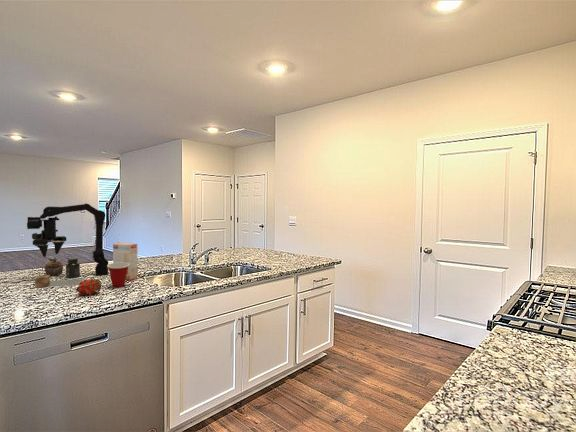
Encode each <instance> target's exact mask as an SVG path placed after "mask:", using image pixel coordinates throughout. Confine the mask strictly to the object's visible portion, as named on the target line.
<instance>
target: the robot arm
mask: <svg viewBox="0 0 576 432" xmlns="http://www.w3.org/2000/svg"><path fill="white" fill-rule="evenodd" d="M80 211H86V212H87V213H90V214H91V215H93V220H94V224H95V242H94V244H95V245H94V246H95V247H94V249H93V250H91V254H92V255H91V258H92V259H93V261H94V262H95V263H96V264H95V268H94V269H95V276H107V275H109V274H110V272H109V269H108V267H107V265H108V264H109V260H108V259H106V258H105V253H104V248H103V244H104V243H103V239H104V237H103V236H104V233H103V232H104V230H103V229H104V222H105V219H106V213H105V211H103V210H100V209H97V208H95V207H94V206H92V205H91V204H90V203H80V204H74V205H65V206H46V207H44V208H43V211H42V214H40V216H27V223H26V227H27V228H26V229H27V230H39V229H40V228H42V227H43V230H41V233H37V232H35V233H32V234H31V239H32V245H34V247H37V248H39V250H40V253H41V255H42V257H43V258H46V256H47V252H48V249H49V248H48V247H49V244H48V243H51V244H53V245H54V253H55V254H56V255H58V254H59V252H60V251H61V248H62V246H63V245H64V244H65V242H67V236H64V235H57V233H58V232H59V229H57V223H56V222H57V221H60V218H59V217H57V216H58V215H61V214H65V213H66V214H67V213H73V212H80ZM46 218H47V219H46Z"/></svg>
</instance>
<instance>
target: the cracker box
mask: <svg viewBox="0 0 576 432" xmlns="http://www.w3.org/2000/svg"><path fill="white" fill-rule="evenodd" d="M112 246H113V247H112V249H113V251H112V253H113V255H112V257H113V258H112V259H113V260H112V261H113V262H112V263H118V262H124V263H129V266H128V270H127V275H126V280H127V281H132V280H136V279H138V244H137V243H130V242H129V243H128V242H114V243H113V245H112ZM126 280H125V281H126Z"/></svg>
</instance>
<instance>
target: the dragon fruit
mask: <svg viewBox="0 0 576 432" xmlns="http://www.w3.org/2000/svg"><path fill="white" fill-rule="evenodd" d="M101 289H102V282H101V281H100V280H99V279H97V278H95V279H94V278H91V277H90V278H89V279H84V280H83V281H82V282H80V284H79V285H77V287H76V288H75V292H78V293H77V294H78V295H79V296H86V295H89V296H91V295H95V294H96V292H97V291H101Z"/></svg>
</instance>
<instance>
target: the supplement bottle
mask: <svg viewBox="0 0 576 432" xmlns="http://www.w3.org/2000/svg"><path fill="white" fill-rule="evenodd" d="M80 268H81V265H80V263H79V260H78V257H71V258H68V259H67V263H66V265H65V278H66V279H67V280H72V279H79V278H80V277H81V275H80V274H81V269H80Z"/></svg>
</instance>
